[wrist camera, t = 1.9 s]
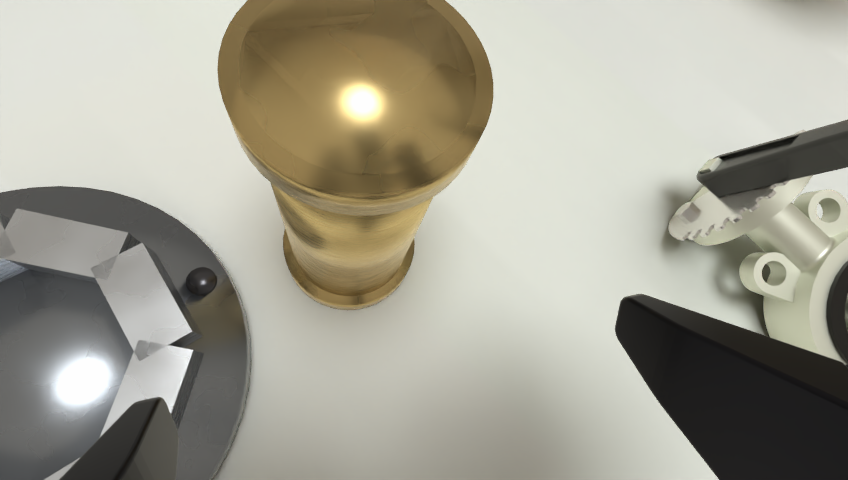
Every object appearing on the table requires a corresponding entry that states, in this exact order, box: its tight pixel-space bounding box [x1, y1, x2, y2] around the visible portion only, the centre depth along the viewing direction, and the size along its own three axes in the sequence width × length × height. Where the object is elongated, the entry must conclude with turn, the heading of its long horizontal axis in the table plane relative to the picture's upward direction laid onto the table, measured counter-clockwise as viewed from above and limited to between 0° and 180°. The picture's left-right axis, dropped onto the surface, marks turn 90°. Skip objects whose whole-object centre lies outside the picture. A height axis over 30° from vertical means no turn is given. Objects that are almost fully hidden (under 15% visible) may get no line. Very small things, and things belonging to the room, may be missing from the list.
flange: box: [0, 186, 251, 480], centre depth 17 cm, size 16×16×2 cm
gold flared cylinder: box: [218, 0, 493, 310], centre depth 16 cm, size 6×6×13 cm
